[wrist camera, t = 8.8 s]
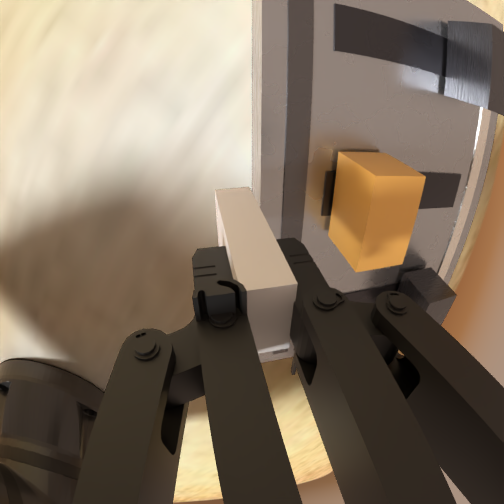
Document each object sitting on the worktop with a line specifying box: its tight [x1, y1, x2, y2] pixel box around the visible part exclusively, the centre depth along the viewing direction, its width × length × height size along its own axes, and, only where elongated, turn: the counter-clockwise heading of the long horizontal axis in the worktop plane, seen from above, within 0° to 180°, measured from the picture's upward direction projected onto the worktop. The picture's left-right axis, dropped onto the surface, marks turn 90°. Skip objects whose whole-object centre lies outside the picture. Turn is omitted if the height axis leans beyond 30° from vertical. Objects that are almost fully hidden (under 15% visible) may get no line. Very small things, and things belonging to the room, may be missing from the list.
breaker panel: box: [252, 0, 504, 363], centre depth 16 cm, size 18×28×6 cm, turn 0°
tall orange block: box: [328, 152, 426, 272], centre depth 15 cm, size 3×5×4 cm, turn 0°
